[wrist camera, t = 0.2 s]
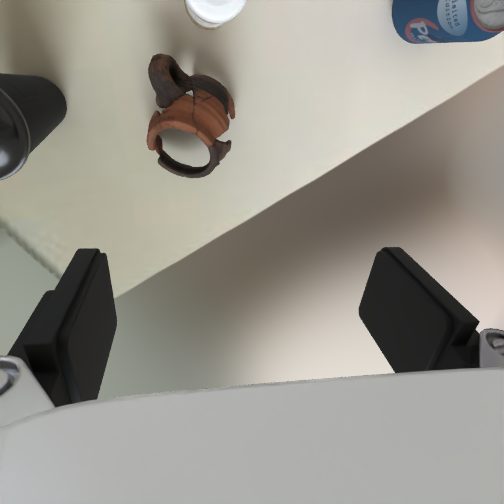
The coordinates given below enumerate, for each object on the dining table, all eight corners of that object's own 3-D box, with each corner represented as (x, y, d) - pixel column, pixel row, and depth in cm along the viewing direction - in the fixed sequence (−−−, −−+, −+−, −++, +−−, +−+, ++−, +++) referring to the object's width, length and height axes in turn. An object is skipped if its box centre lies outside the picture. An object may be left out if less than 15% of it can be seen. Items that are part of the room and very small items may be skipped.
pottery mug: (253, 125, 39) (242, 174, 35) (189, 146, 43) (171, 192, 39) (199, 18, 30) (174, 64, 26) (124, 56, 35) (92, 102, 30)
